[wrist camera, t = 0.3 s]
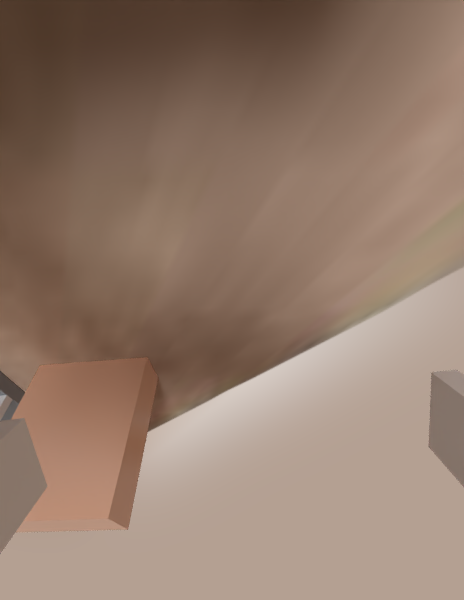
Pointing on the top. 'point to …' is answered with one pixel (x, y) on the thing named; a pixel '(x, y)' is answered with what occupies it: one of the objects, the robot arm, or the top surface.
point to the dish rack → (9, 397)
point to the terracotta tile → (88, 441)
